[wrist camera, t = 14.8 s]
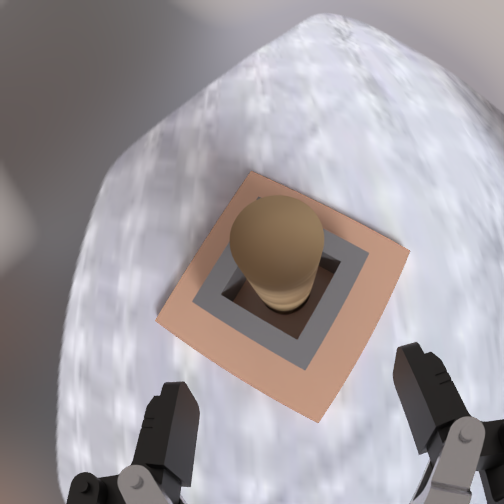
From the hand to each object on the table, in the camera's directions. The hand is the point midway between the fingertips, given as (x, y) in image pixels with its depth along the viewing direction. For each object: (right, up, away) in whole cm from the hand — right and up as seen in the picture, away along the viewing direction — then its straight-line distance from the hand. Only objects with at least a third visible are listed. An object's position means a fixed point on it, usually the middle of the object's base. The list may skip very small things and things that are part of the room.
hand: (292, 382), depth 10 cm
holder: (+1, +2, +15) cm, 15 cm away
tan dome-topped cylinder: (+1, +2, +14) cm, 14 cm away
